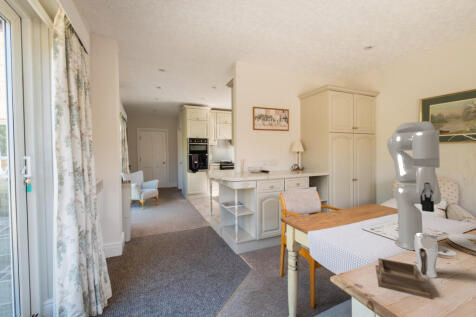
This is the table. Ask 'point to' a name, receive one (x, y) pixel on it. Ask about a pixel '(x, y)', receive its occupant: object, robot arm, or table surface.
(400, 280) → the brown wooden tray
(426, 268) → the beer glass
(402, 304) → the table surface
